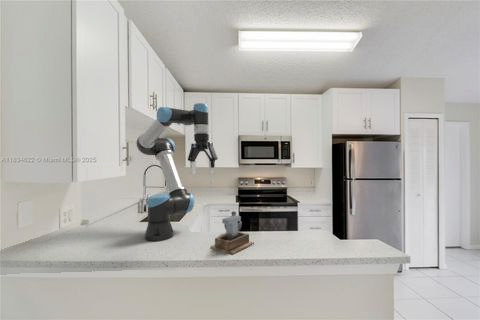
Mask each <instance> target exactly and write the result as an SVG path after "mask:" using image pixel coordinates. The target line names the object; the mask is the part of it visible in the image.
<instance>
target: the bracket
mask: <svg viewBox="0 0 480 320" xmlns="http://www.w3.org/2000/svg"><path fill="white" fill-rule="evenodd" d="M241 217H242V216H240V215H234V216H232V215H231V216H228V217H224V218H222V220H221V221H222V224H226V229H225V234H226V240H228V241H231V240H233V239H236V238H238V221H241V220H242V218H241Z"/></svg>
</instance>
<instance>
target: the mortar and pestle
mask: <svg viewBox="0 0 480 320" xmlns="http://www.w3.org/2000/svg"><path fill="white" fill-rule="evenodd" d="M236 214H237V212H236V211H231V216H234V215H236ZM236 216H237V215H236ZM242 223H243V221H241V220H240V221H238V232H241V230H242V229H241V228H242ZM223 224H224V223H223ZM224 229H225V230H226V224H224Z"/></svg>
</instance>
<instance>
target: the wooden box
mask: <svg viewBox="0 0 480 320" xmlns="http://www.w3.org/2000/svg"><path fill="white" fill-rule="evenodd" d="M252 244H253V245H254V244H255V242H253V241H250V233H245V232H242V231H239V232H238V238H236V239H233V240H231V241H228V240H226V233H225V234H223V235H220V236H218V237H215V238H214V244H213V245H211V246H210V249H212V248H213V250H215V249H216V251H219V252H222V251H223V253H226V254H230V255H235V254H238V253H239V252H241V251H244V250H245V249H247V248H249V247H251V246H253V245H252ZM250 245H251V246H250Z"/></svg>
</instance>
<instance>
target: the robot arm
mask: <svg viewBox="0 0 480 320" xmlns="http://www.w3.org/2000/svg"><path fill="white" fill-rule="evenodd" d="M172 124H179V125H183V126H192V125H193V132H194V134H193V139H194V142H193V143H191V145H190V150H189V153H188V157H187V161H188V162H190V170H191V171H190V172H191V174H192V175H196V174H197V162H196V159H197V157H198V156H199V153H201V152H204V153H205V155H206V157H207V159H208V160H209V161H208V172H209V173H208V175H214V174H215V161H217V160H218V158H219V157H218V156H217V153H216V150H215V148H214V144H213V141H209V139H210V138H209V136H210V134H209V133H210V132H209V131H210V130H209V106H208V104H207V103H201V102H200V103H199V102H197V103H194V104H193V109H191V110H187V109H181V108H172V107H169V106H168V107H167V106H159V107H158V108H157V110H156V119H155V120H154V121H153V122H152V123H151V125H150V126H149V127H148V128H147V129H146V131H145V132H143V133H141V134H140V135H139V136H138V138H137V139H136V148H137V149H138V151H139V152H140V153H142V154H143V155H146V156H155V159H156V160H157V161H159V163H160V168H161V171H162V175H163V177H164V180H165V183H166V186H167V189H168V192H162V193H157V194H154V195H151V196H150V197H148V199H147V227H146V230H145V233H144V240H145V241H149V242H156V241H157V242H159V241H166V240H168V239H171V238H173V237H174V234H175V231H174V230H173V226H172V223H171V217H172V216H178V215H181V214H186V213H187V214H188V213H191V212H192V211H193V209H194V206H195V197H194V194H193V193H191V192H188V189H187V188H186V187H184V186H183V183H182V181H181V178H180V174H179V172H178V169H177V167H176V166H177V165H176V163H175V161H174V157H173V156H174V155H175V152H176V148H175V147H176V145H175V142H174V141H173V140H172V139H171V138H168V137H161V136H162V135H163V134H164V133H165V132H166V131H167V129H168V128H170V126H172Z"/></svg>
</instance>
